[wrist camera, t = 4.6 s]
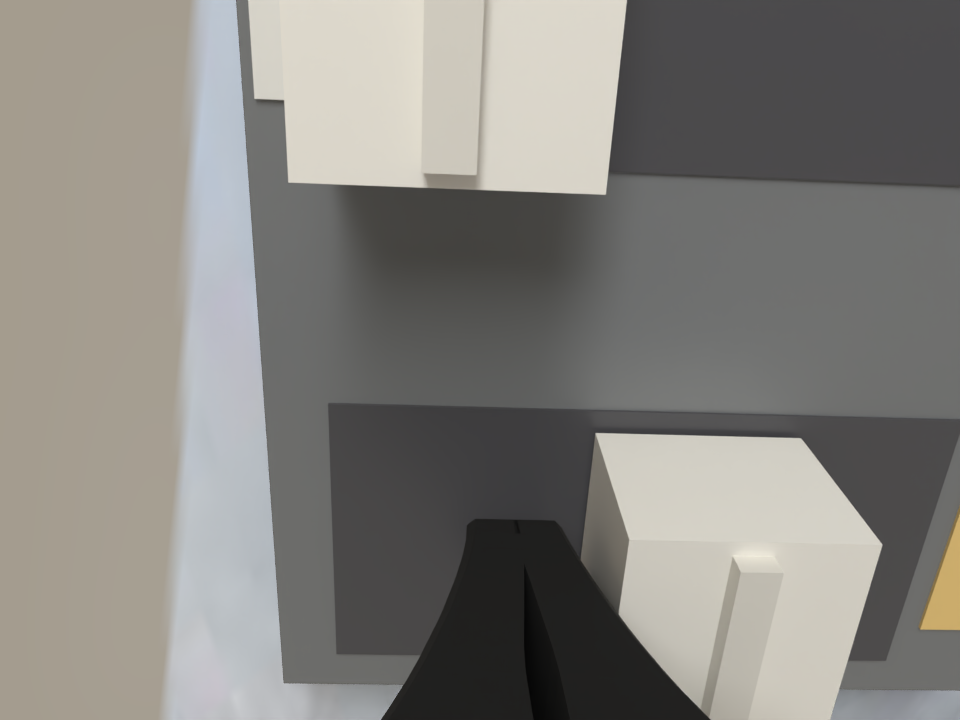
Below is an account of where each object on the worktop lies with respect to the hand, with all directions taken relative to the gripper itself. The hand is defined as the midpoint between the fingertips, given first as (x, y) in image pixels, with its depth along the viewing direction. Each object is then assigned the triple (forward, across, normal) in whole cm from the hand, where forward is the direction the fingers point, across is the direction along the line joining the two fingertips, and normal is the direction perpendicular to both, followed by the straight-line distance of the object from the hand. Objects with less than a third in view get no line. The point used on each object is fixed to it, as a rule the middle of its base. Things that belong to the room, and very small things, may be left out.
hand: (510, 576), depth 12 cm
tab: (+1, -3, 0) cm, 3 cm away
